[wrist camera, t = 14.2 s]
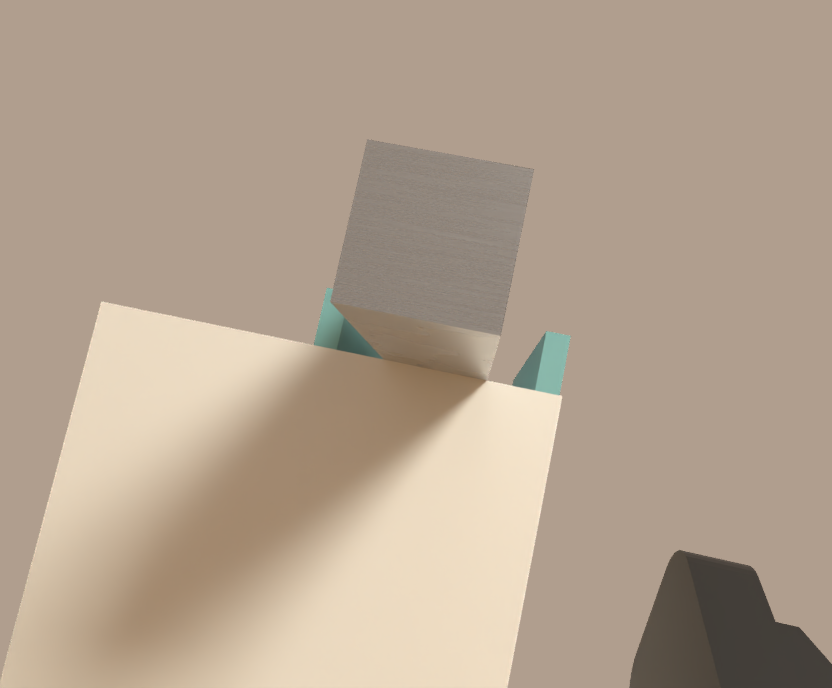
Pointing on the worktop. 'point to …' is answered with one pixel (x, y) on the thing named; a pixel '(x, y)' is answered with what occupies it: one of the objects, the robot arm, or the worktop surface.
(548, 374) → the channel ribs
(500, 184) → the grey square bar
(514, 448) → the stand
